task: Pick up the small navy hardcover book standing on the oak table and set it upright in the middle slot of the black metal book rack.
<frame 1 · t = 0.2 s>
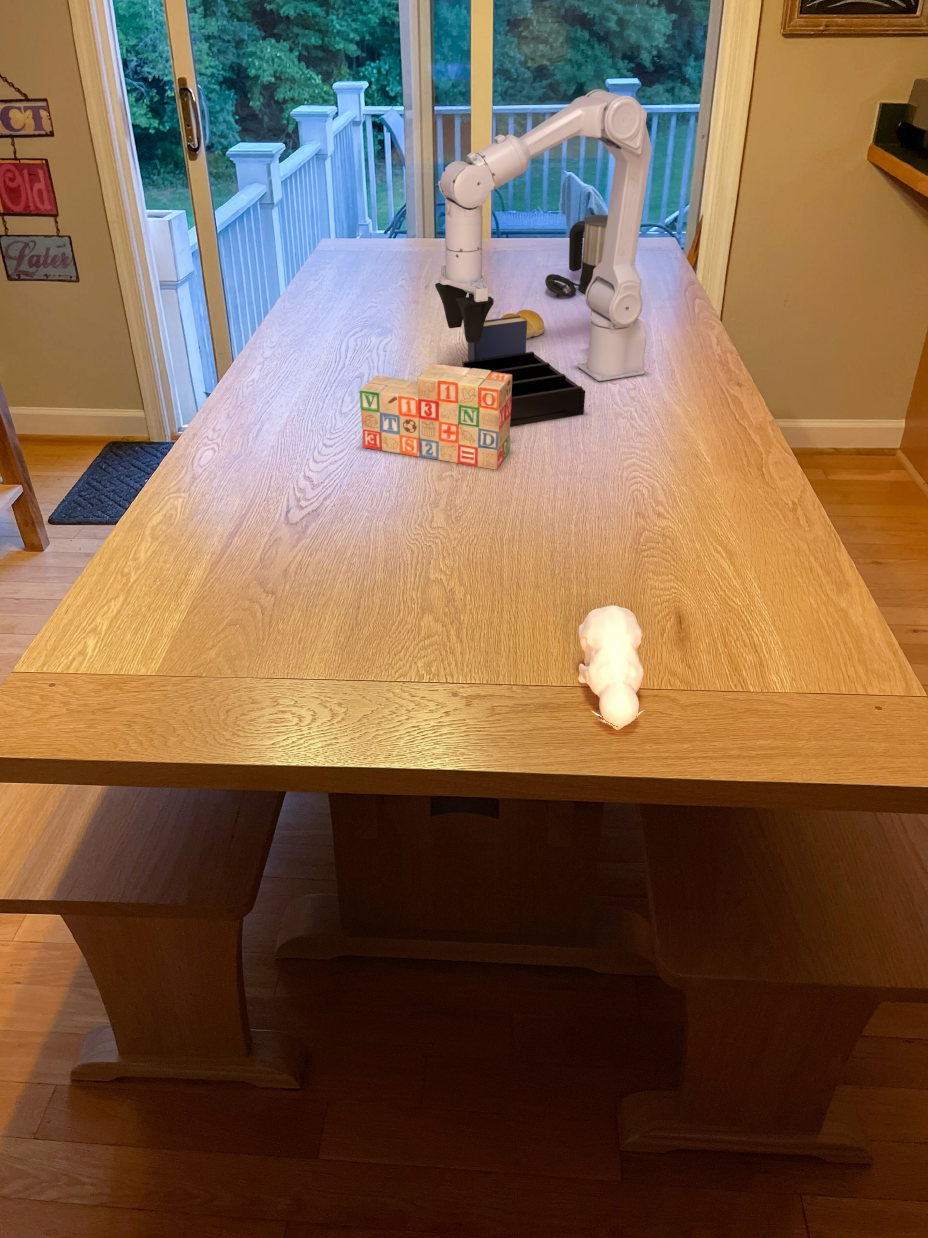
hand: (463, 334, 157), 10 cm above the table, tool pointing down, fingers open, 7 cm apart
rack: (519, 400, 160), on the table
white animal figurine: (610, 702, 97), on the table
book: (496, 365, 174), on the table
milk frother: (583, 293, 211), on the table
stack of blocks: (436, 451, 144), on the table
bread roll: (521, 333, 189), on the table
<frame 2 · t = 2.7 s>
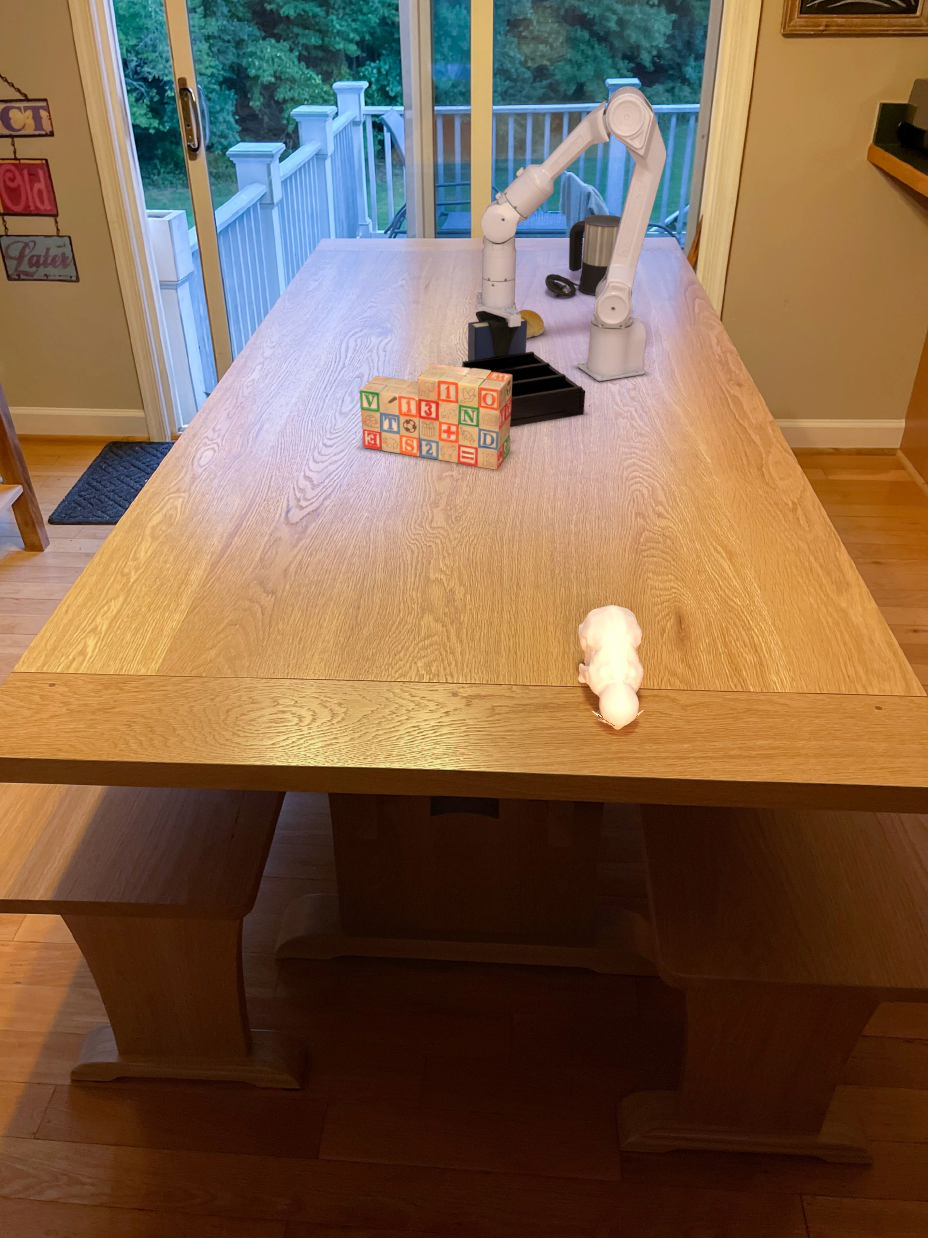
hand: (496, 354, 172), 2 cm above the table, tool pointing down, fingers closed on book, 3 cm apart
book: (496, 365, 174), on the table, touching gripper
everything else where it was.
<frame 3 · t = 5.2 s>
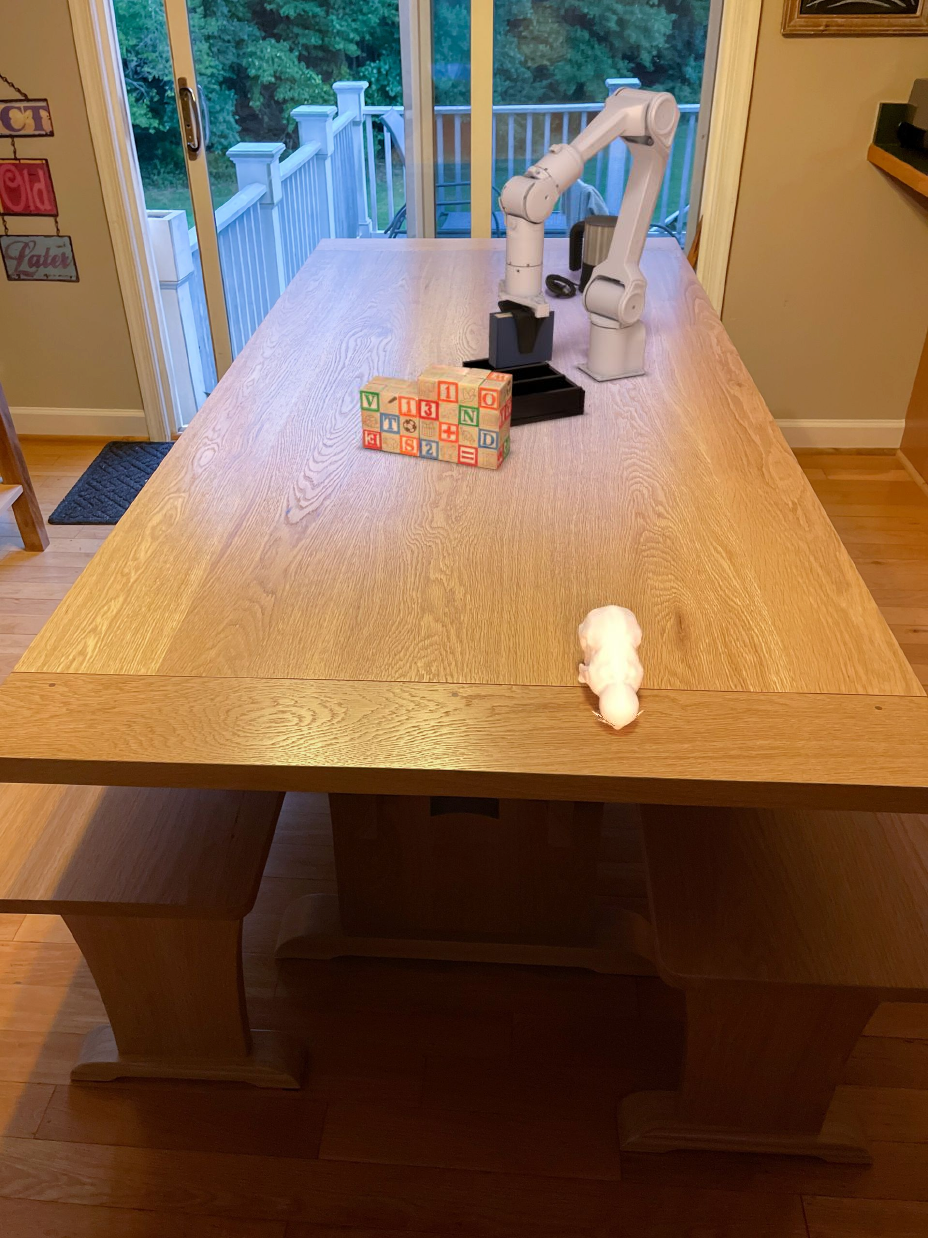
hand: (520, 349, 156), 9 cm above the table, tool pointing down, fingers closed on book, 3 cm apart
book: (520, 361, 157), point 7 cm above the table, touching gripper
everything else where it was.
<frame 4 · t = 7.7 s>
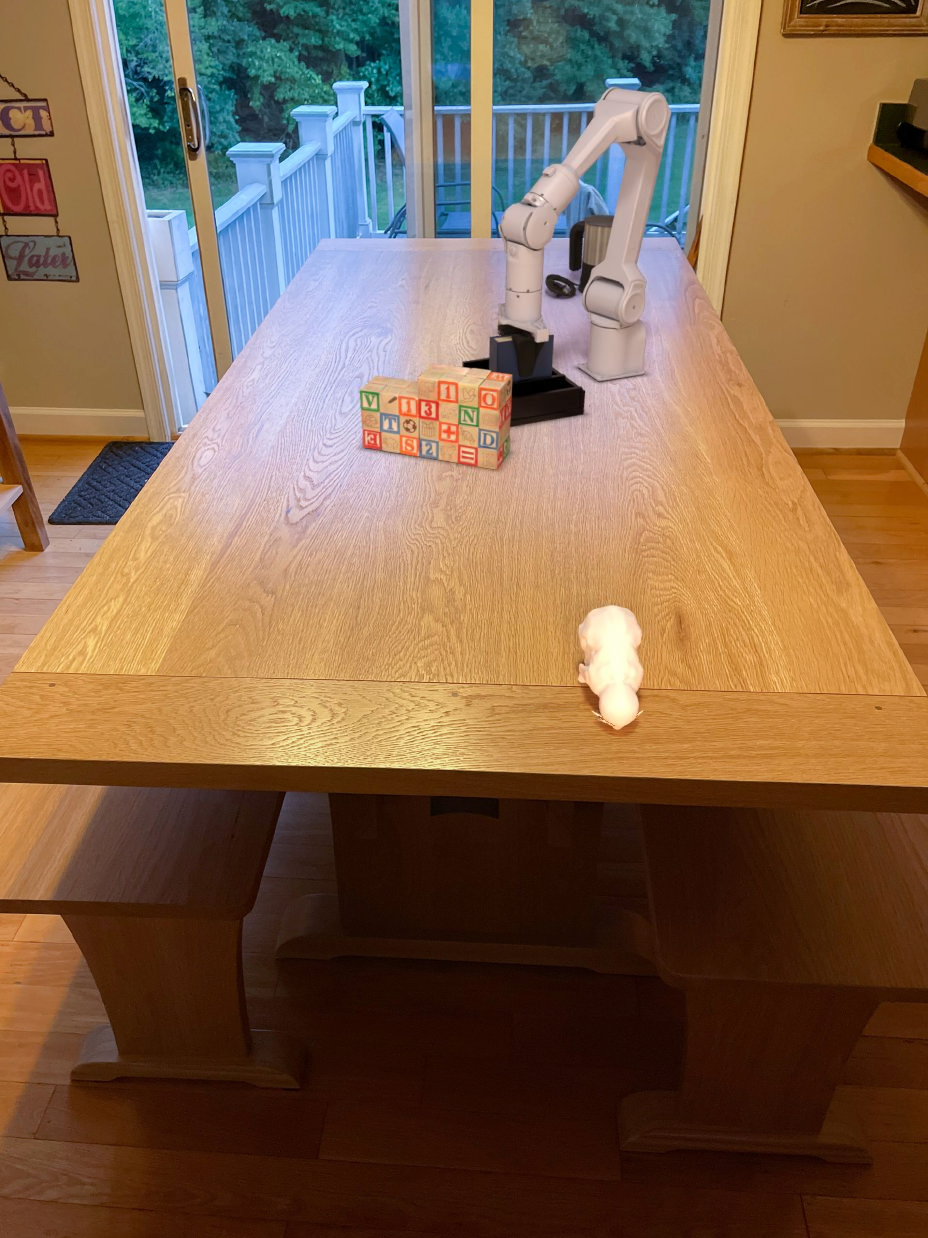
hand: (520, 371, 158), 5 cm above the table, tool pointing down, fingers closed on book, 3 cm apart
book: (520, 383, 159), point 3 cm above the table, touching gripper
everything else where it was.
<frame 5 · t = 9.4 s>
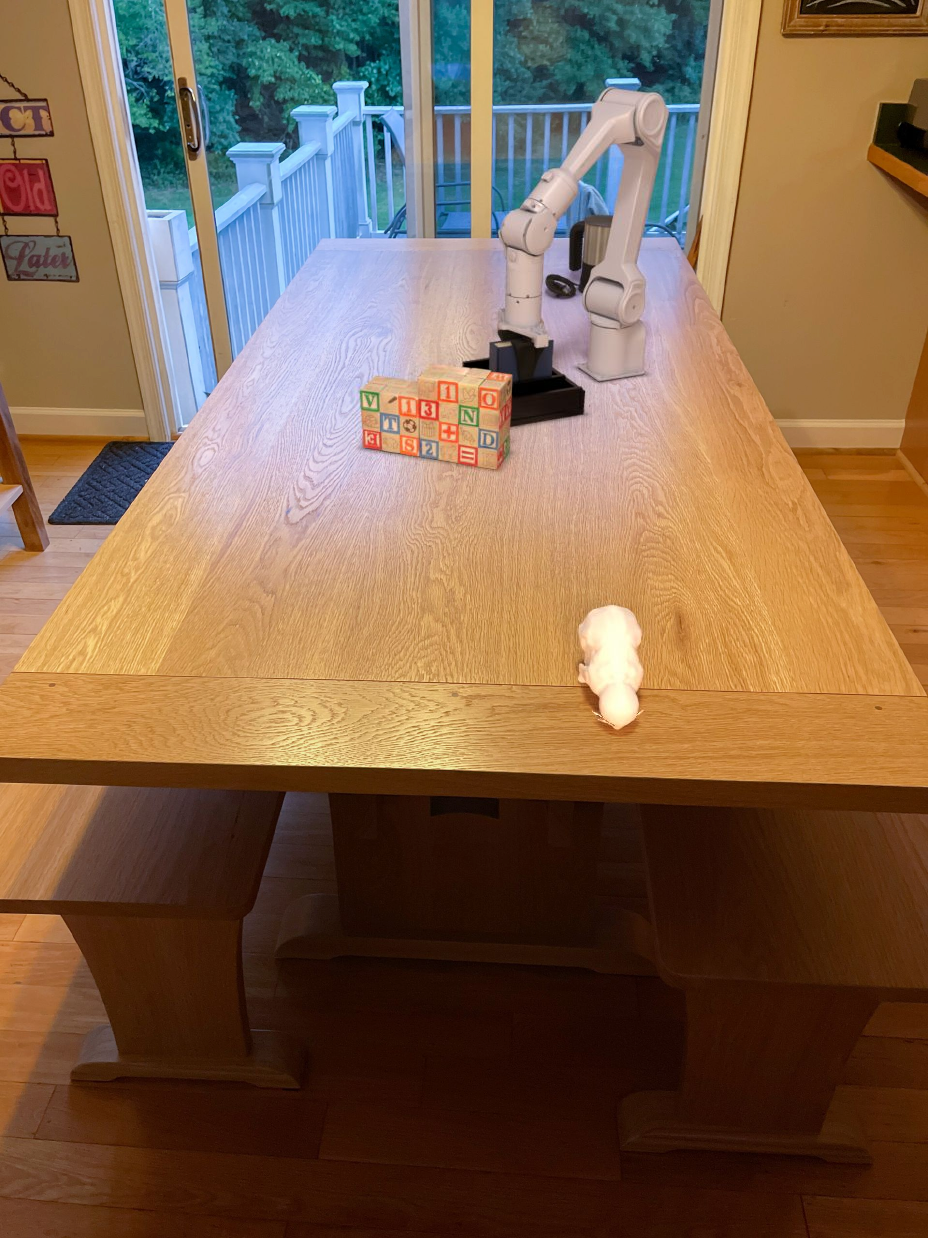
hand: (520, 376, 158), 4 cm above the table, tool pointing down, fingers closed on book, 3 cm apart
book: (519, 388, 159), point 2 cm above the table, touching gripper
everything else where it was.
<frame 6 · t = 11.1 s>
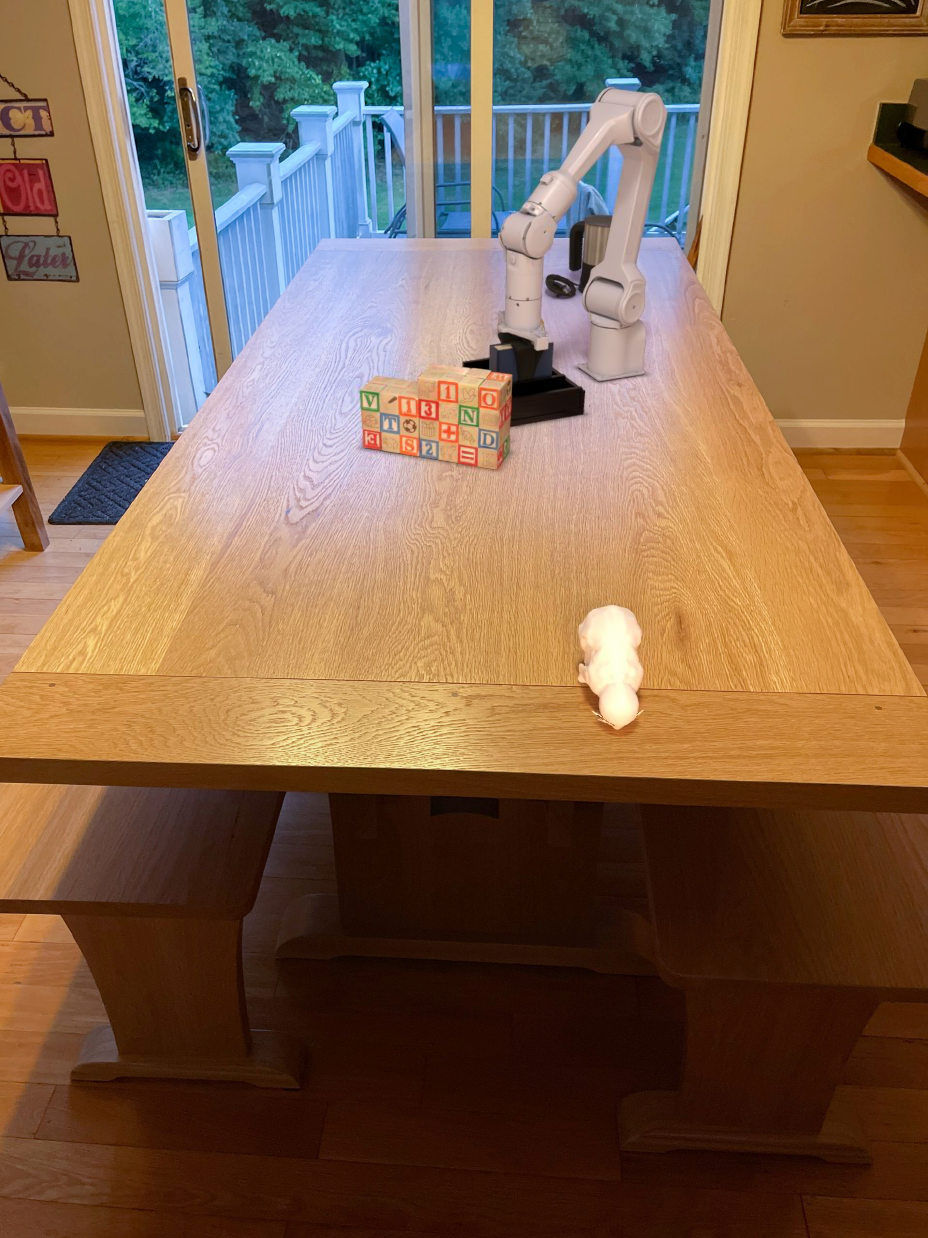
hand: (520, 379, 158), 4 cm above the table, tool pointing down, fingers closed on book, 3 cm apart
book: (519, 391, 160), point 2 cm above the table, touching gripper
everything else where it was.
when the fingers open (5 cm above the table, at t = 13.1 s): book drops 2 cm, resting on rack.
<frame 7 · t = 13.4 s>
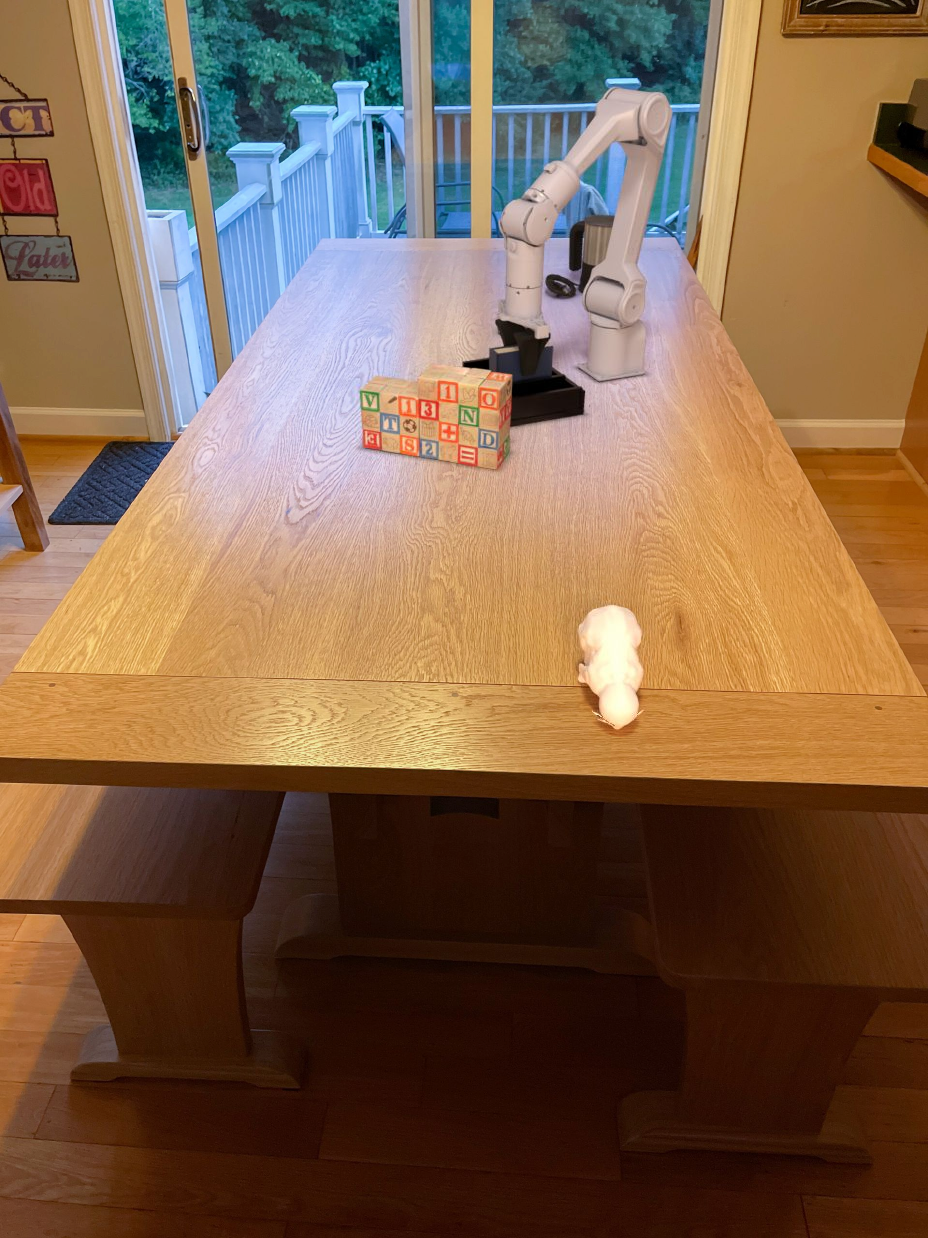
hand: (520, 368, 157), 5 cm above the table, tool pointing down, fingers open, 5 cm apart
book: (519, 394, 160), point 1 cm above the table, touching rack
everything else where it was.
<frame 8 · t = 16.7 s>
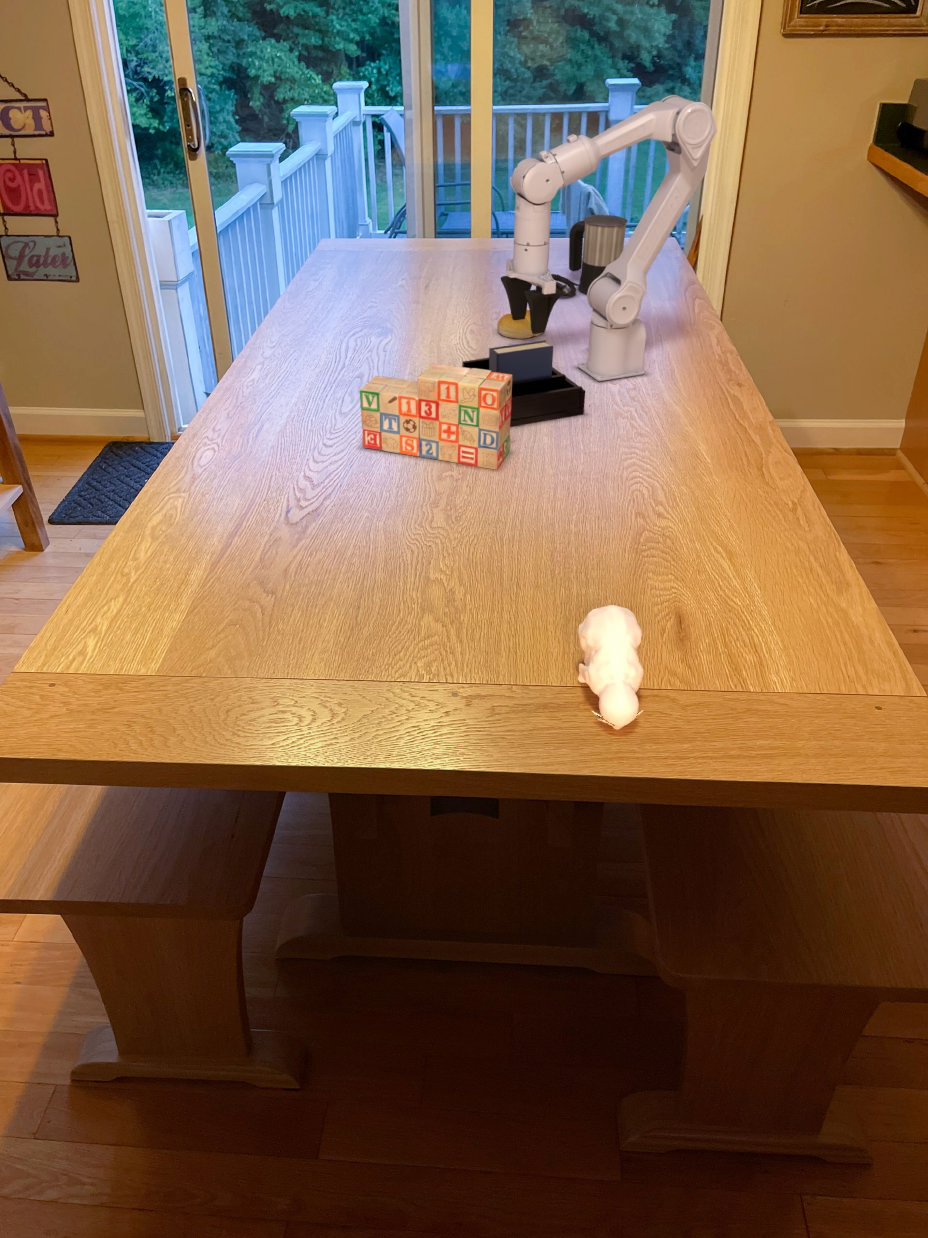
hand: (528, 325, 163), 9 cm above the table, tool pointing down, fingers open, 7 cm apart
nothing on the table moved.
at the end: book 0.1 cm off-centre on the rack, point 1.0 cm above the rack's base; book tilted 0°; the gripper is holding nothing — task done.
